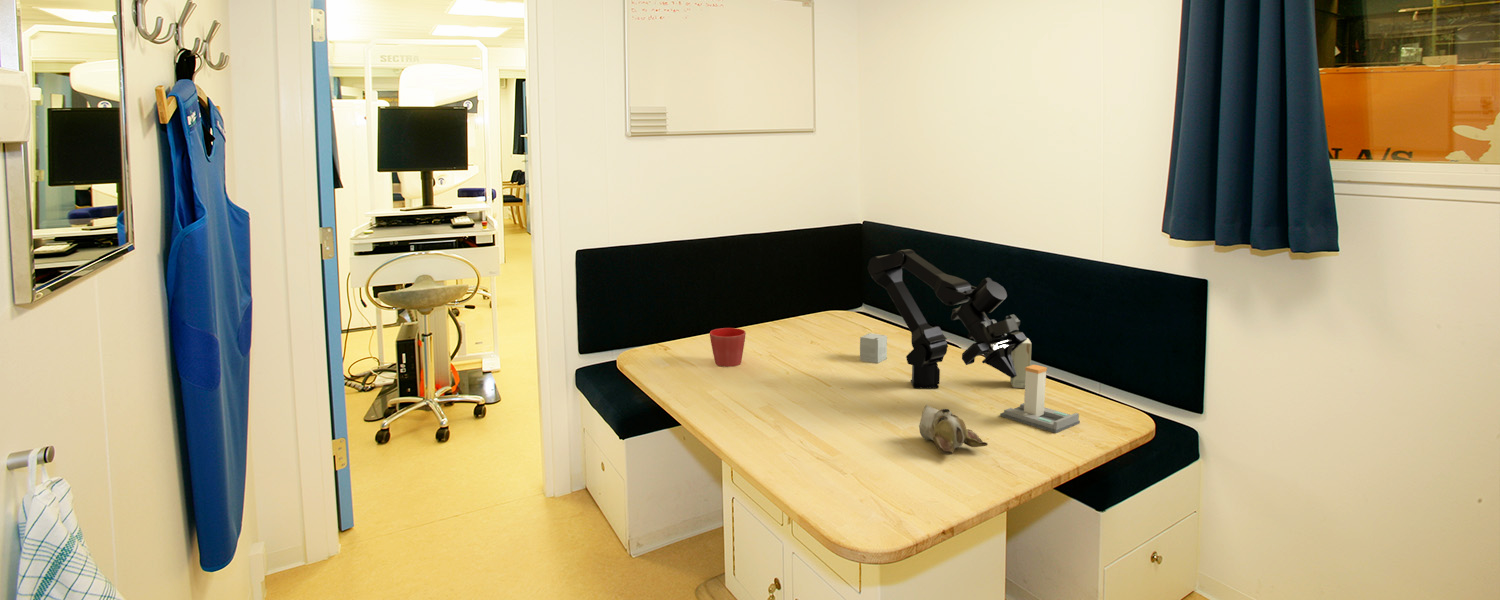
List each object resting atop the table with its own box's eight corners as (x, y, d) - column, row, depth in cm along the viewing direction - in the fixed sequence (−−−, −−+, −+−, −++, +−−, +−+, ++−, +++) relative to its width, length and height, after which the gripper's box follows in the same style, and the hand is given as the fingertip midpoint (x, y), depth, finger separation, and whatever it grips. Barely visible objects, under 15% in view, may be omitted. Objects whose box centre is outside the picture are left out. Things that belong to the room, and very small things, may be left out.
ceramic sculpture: (945, 394, 179) (992, 418, 166) (943, 429, 182) (989, 456, 169) (906, 402, 175) (951, 427, 162) (904, 438, 177) (948, 466, 164)
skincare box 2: (1030, 389, 209) (1032, 343, 207) (1012, 388, 210) (1014, 343, 208) (1026, 381, 215) (1029, 337, 213) (1009, 380, 216) (1011, 336, 214)
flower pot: (753, 361, 240) (752, 329, 238) (733, 370, 231) (732, 338, 229) (724, 356, 246) (723, 325, 244) (703, 365, 237) (702, 333, 235)
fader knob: (1023, 414, 188) (1025, 367, 186) (1031, 410, 190) (1034, 364, 188) (1035, 417, 186) (1038, 370, 183) (1044, 414, 188) (1047, 367, 185)
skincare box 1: (868, 356, 243) (869, 332, 242) (887, 358, 240) (887, 335, 238) (859, 360, 238) (859, 336, 237) (877, 363, 235) (878, 339, 233)
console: (999, 416, 190) (1000, 406, 189) (1024, 407, 196) (1024, 397, 195) (1055, 433, 178) (1056, 423, 178) (1079, 423, 184) (1080, 413, 184)
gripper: (973, 310, 186) (1012, 366, 180) (1021, 299, 197) (1060, 351, 191) (945, 337, 194) (982, 391, 187) (993, 325, 205) (1029, 376, 198)
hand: (1014, 377), depth 191 cm, fingers closed
